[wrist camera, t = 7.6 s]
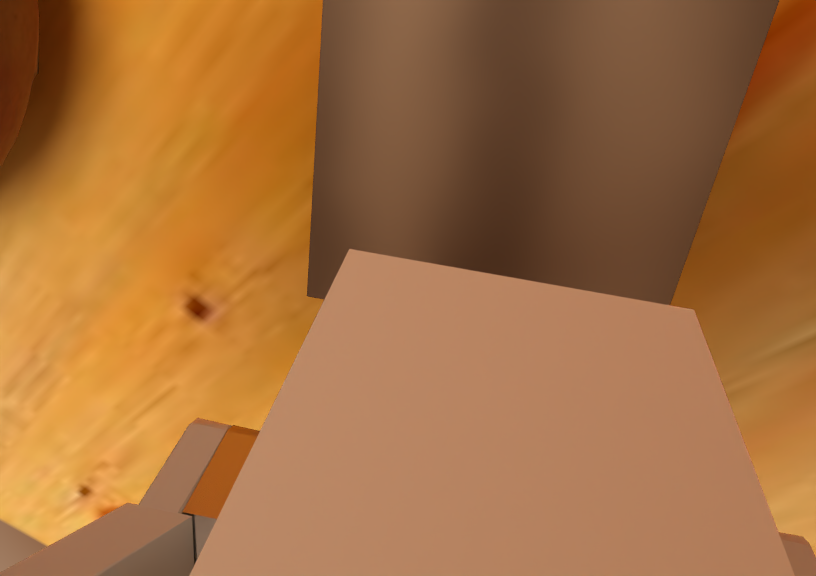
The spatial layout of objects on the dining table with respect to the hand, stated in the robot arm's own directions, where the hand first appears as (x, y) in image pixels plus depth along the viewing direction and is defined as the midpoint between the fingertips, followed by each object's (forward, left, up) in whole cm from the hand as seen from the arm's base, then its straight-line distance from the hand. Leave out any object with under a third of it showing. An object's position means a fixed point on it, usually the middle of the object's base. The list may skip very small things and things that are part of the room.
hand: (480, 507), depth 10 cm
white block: (0, 0, -2) cm, 2 cm away
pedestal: (0, 0, -20) cm, 20 cm away
